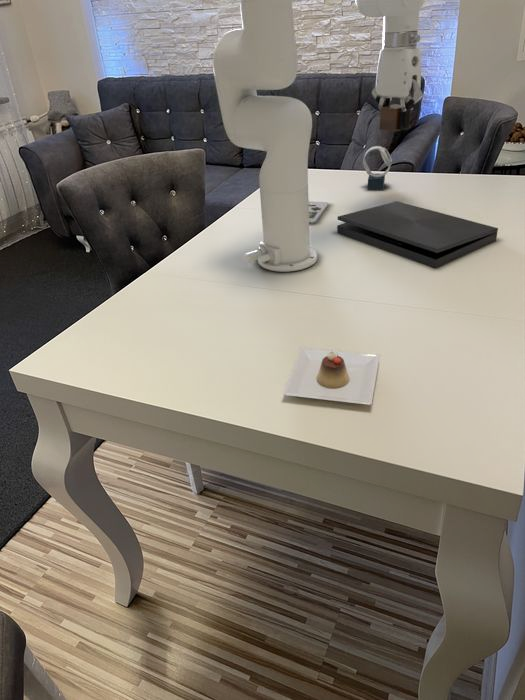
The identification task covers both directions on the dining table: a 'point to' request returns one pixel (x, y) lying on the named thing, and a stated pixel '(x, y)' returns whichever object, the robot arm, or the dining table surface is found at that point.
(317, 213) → the handheld gaming device
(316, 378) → the dessert
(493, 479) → the dining table surface
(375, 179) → the watch
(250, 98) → the robot arm
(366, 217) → the laptop screen
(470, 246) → the laptop
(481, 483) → the dining table surface
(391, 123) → the block
